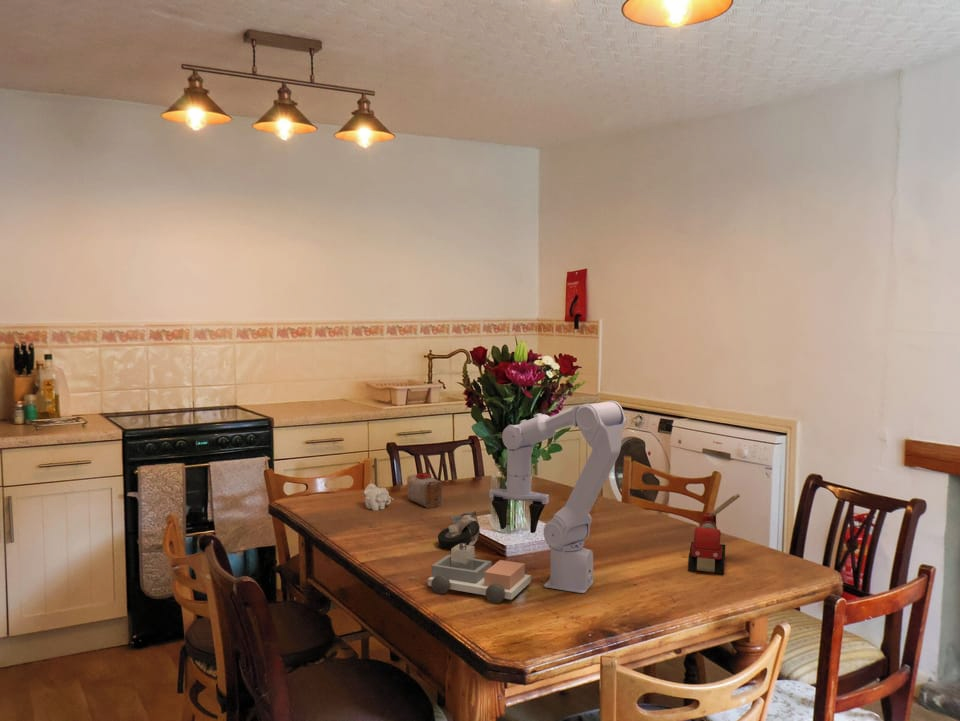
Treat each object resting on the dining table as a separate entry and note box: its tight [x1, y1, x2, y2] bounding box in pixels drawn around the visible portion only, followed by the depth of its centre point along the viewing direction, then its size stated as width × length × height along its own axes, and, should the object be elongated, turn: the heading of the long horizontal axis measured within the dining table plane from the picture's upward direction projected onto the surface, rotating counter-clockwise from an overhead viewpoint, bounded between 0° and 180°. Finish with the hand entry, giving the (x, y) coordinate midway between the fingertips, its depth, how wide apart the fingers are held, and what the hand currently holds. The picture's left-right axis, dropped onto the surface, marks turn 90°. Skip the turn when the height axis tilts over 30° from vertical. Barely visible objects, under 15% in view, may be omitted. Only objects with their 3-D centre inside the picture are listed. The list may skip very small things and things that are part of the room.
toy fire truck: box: [687, 493, 741, 575], centre depth 199 cm, size 11×16×18 cm
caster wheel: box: [437, 510, 481, 551], centre depth 214 cm, size 7×12×10 cm
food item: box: [406, 471, 443, 509], centre depth 257 cm, size 14×8×10 cm, turn 33°
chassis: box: [427, 554, 532, 605], centre depth 182 cm, size 20×14×6 cm
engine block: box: [450, 543, 476, 570], centre depth 184 cm, size 4×4×7 cm
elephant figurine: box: [364, 483, 395, 512], centre depth 250 cm, size 8×10×7 cm
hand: (518, 530), depth 195 cm, fingers open, 7 cm apart
